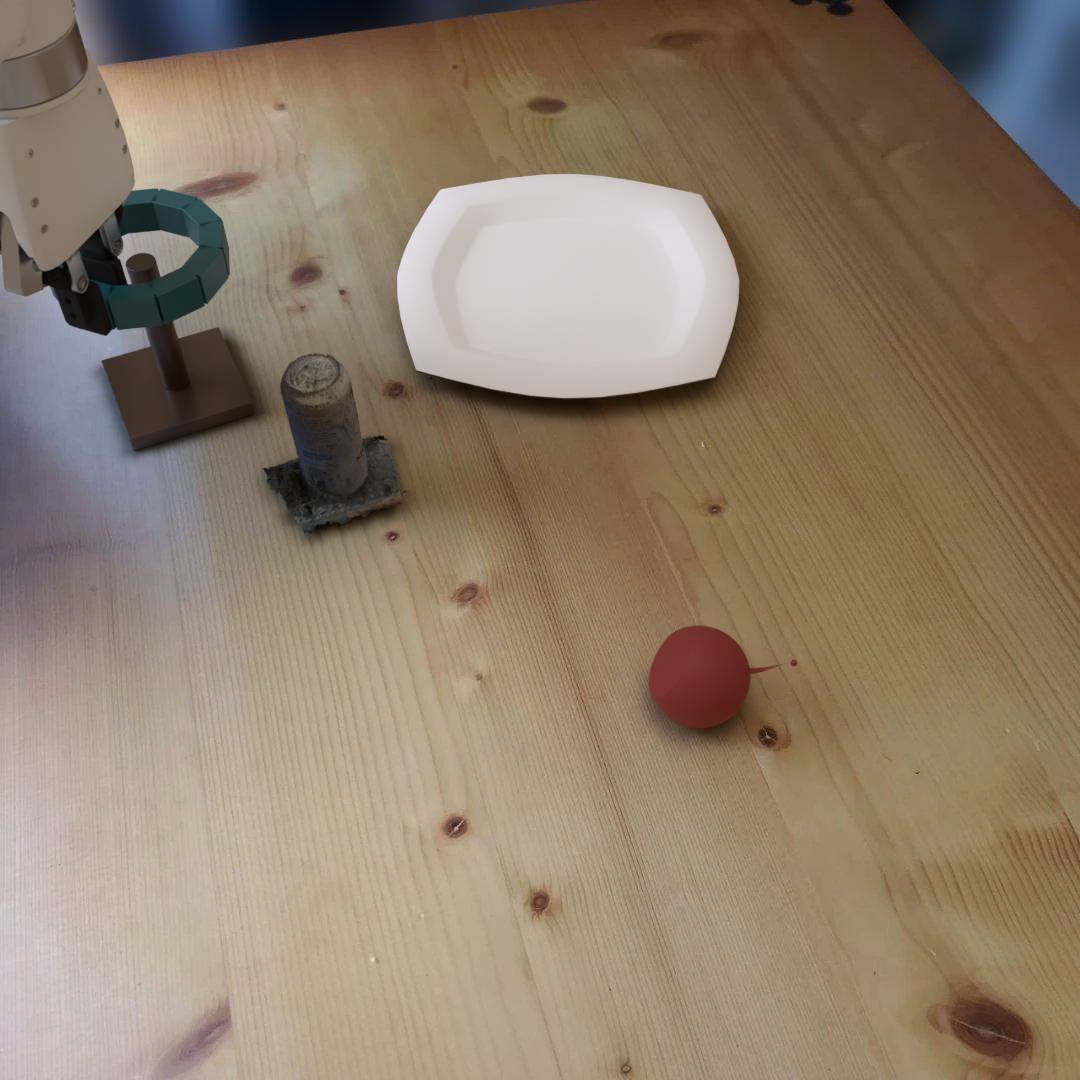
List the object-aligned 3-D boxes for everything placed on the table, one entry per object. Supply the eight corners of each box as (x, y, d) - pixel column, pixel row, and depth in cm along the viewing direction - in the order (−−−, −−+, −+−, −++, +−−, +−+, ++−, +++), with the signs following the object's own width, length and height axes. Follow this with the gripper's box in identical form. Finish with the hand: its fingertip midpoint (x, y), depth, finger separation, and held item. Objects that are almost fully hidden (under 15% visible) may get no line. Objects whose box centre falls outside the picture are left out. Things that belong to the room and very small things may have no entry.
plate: (726, 195, 112) (729, 175, 111) (748, 420, 95) (751, 400, 94) (414, 189, 113) (413, 169, 111) (381, 411, 96) (378, 392, 94)
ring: (173, 346, 83) (164, 318, 81) (18, 304, 86) (7, 275, 84) (260, 239, 90) (254, 210, 88) (115, 203, 92) (106, 174, 91)
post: (133, 451, 93) (88, 321, 84) (105, 371, 98) (59, 240, 89) (255, 414, 95) (224, 283, 86) (221, 338, 101) (188, 207, 91)
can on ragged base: (308, 551, 87) (281, 426, 78) (261, 478, 91) (230, 351, 82) (427, 497, 90) (414, 371, 81) (376, 429, 94) (359, 301, 85)
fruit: (714, 760, 80) (797, 708, 74) (636, 726, 78) (715, 670, 72) (719, 677, 83) (799, 621, 78) (645, 642, 82) (721, 583, 76)
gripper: (40, -25, 76) (118, 232, 90) (-141, 119, 67) (-22, 380, 81) (151, 0, 74) (213, 257, 89) (-19, 151, 65) (81, 411, 79)
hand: (100, 314), depth 85 cm, fingers closed on ring, 1 cm apart
